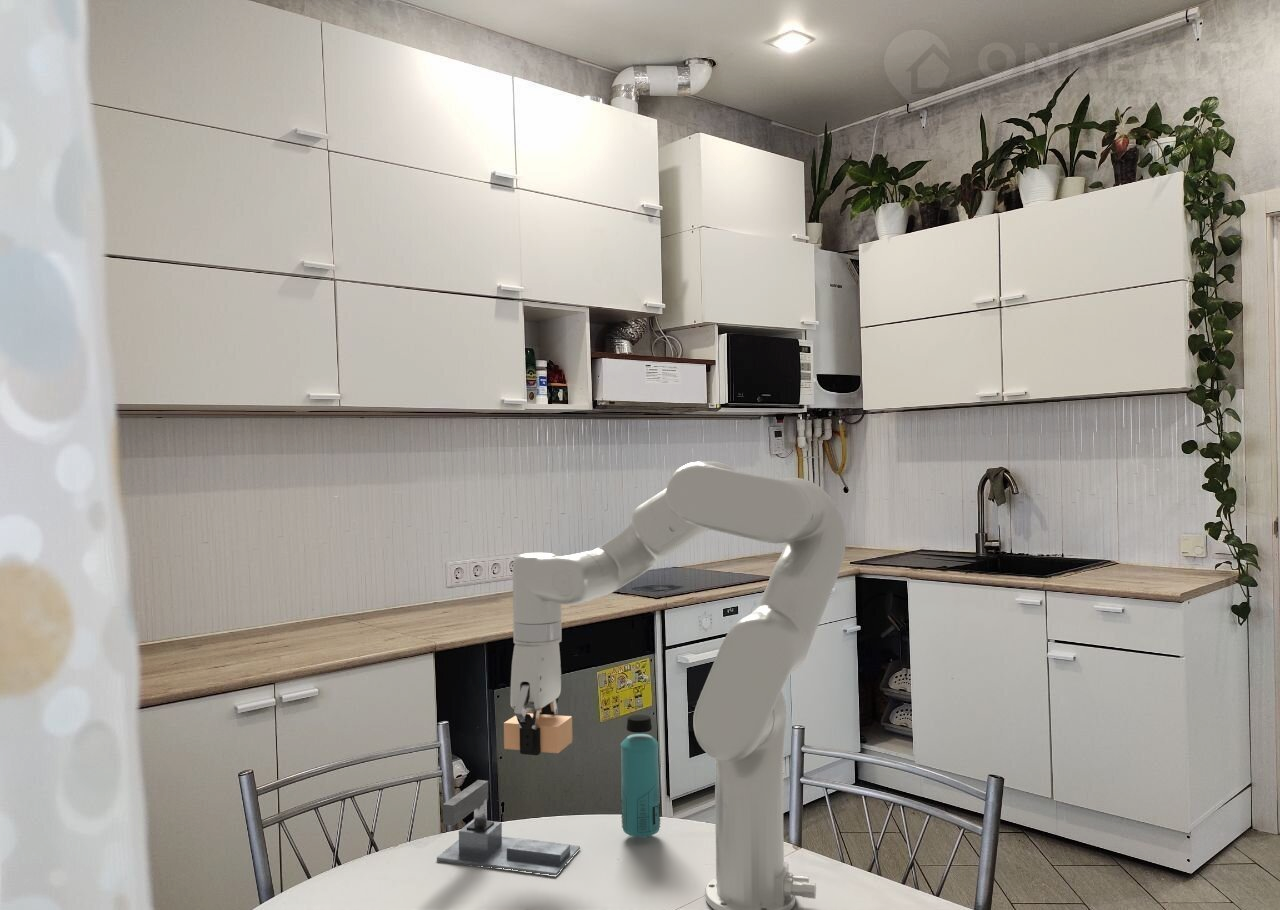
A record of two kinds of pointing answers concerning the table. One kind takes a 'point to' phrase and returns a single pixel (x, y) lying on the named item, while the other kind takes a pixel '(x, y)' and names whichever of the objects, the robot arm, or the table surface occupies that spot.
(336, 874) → the table surface
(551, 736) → the cover
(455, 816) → the t key
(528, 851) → the latch base
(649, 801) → the beverage bottle
